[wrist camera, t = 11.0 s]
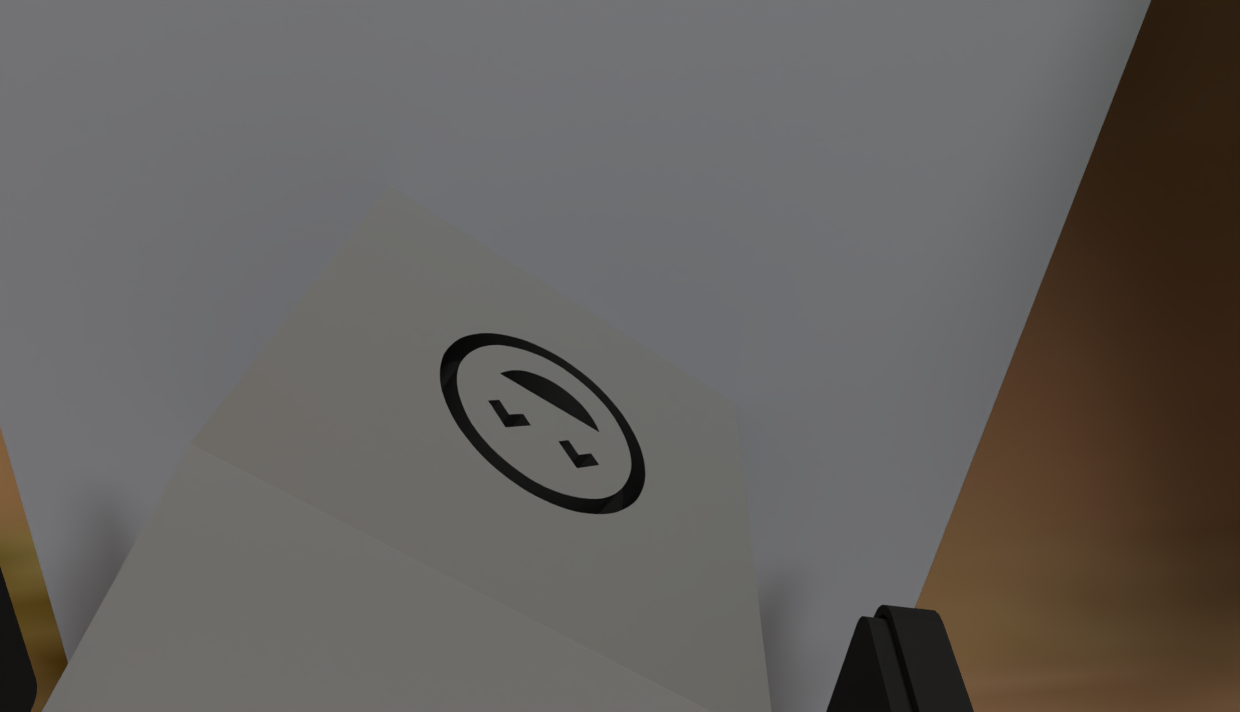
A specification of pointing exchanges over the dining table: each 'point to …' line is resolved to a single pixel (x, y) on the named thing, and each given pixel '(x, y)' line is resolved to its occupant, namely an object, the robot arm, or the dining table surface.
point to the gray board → (554, 234)
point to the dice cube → (440, 513)
